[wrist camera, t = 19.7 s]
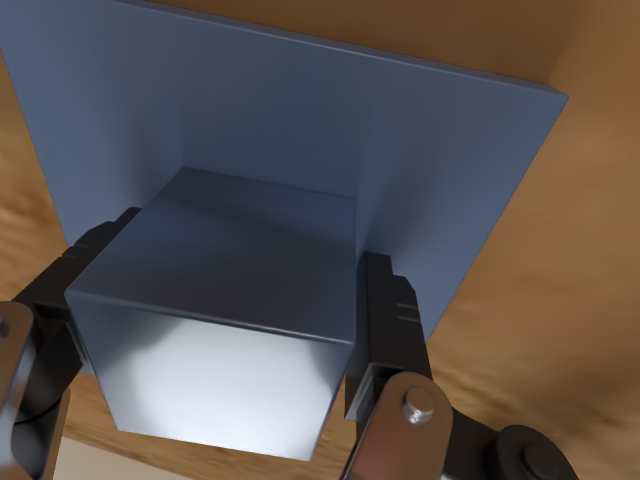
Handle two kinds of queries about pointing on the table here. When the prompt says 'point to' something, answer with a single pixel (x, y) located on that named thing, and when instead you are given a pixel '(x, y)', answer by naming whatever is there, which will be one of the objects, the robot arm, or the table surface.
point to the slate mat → (273, 125)
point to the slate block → (224, 313)
